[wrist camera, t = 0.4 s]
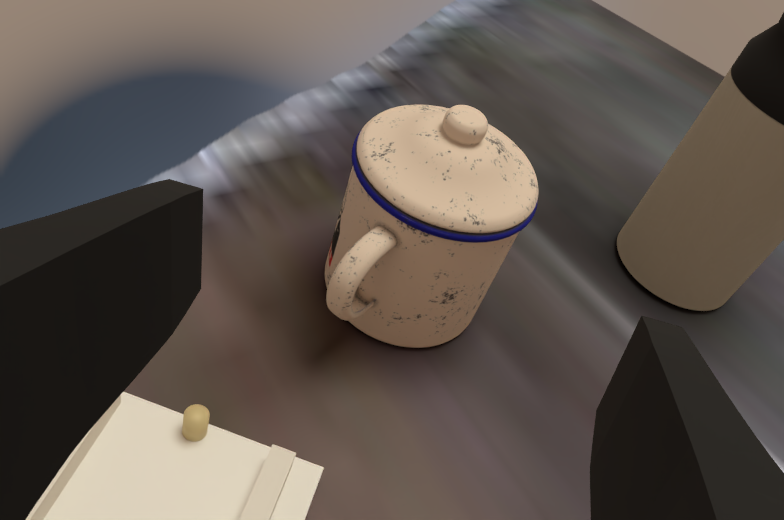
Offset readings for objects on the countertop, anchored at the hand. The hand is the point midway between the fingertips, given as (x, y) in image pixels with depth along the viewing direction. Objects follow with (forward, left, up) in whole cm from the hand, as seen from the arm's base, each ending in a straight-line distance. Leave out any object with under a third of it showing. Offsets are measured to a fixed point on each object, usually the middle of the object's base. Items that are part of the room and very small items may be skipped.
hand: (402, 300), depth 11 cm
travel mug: (+30, -17, -20) cm, 40 cm away
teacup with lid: (+18, 0, -20) cm, 27 cm away
